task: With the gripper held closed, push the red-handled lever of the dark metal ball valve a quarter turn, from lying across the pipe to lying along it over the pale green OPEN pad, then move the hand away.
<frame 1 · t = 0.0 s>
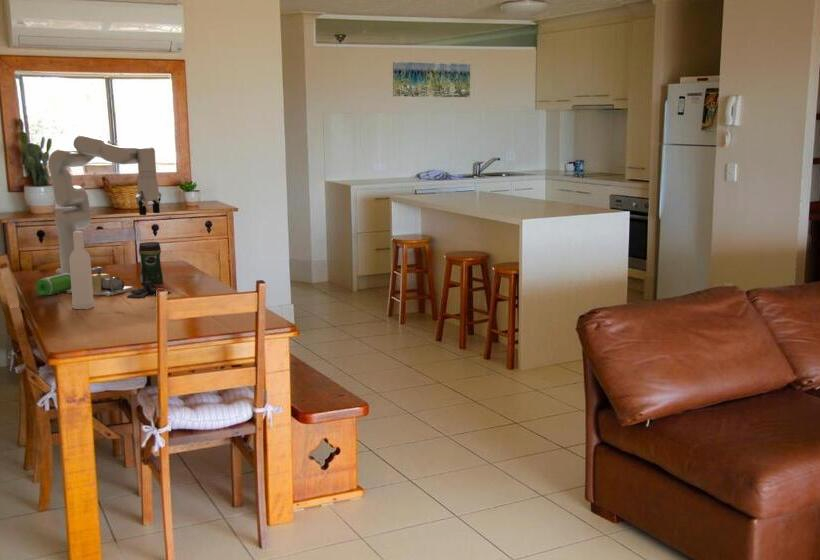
hand: (149, 214, 391), 31 cm above the table, tool pointing down, fingers open, 9 cm apart
lever: (90, 272, 371), point 9 cm above the table, hinge at 0.0°
speaker: (56, 293, 376), on the table
coffee jar: (151, 283, 397), on the table
bottle: (83, 308, 343), on the table
cloth: (152, 295, 371), on the table
valve pipe: (100, 291, 378), on the table
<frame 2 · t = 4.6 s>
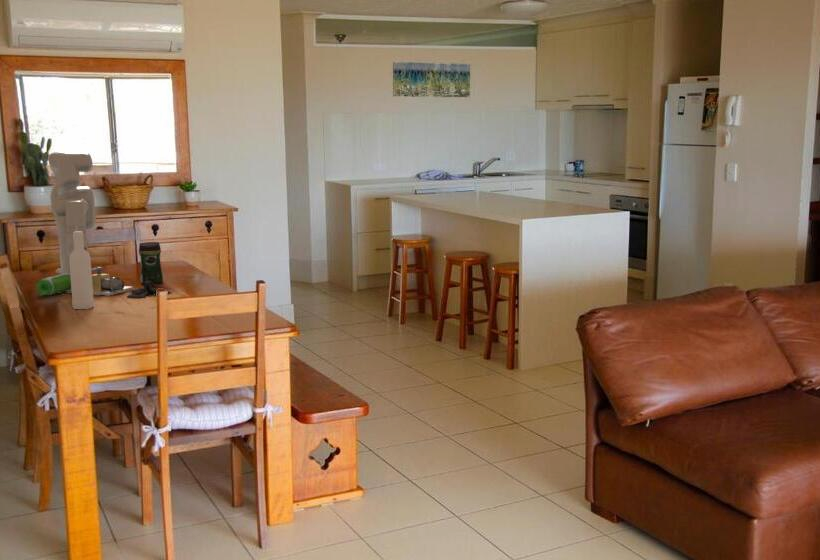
hand: (79, 273, 369), 9 cm above the table, tool pointing down, fingers closed
lever: (90, 272, 371), point 9 cm above the table, hinge at 3.3°, touching gripper
everything else where it was.
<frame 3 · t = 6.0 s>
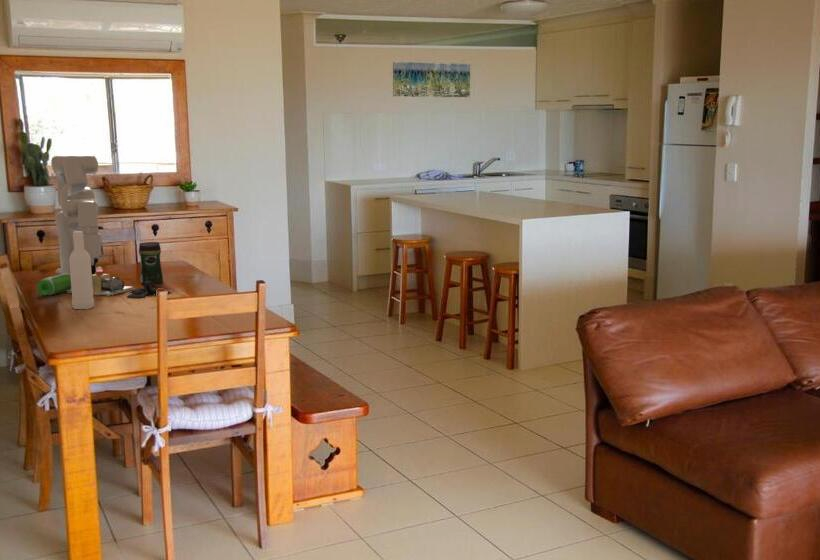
hand: (91, 274, 367), 9 cm above the table, tool pointing down, fingers closed
lever: (99, 272, 371), point 9 cm above the table, hinge at 40.4°, touching gripper
everything else where it was.
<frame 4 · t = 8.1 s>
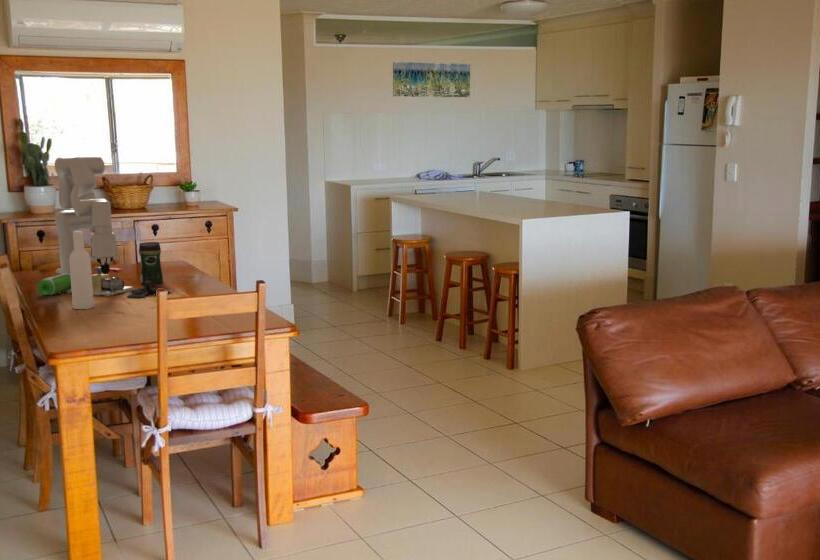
hand: (105, 273, 368), 9 cm above the table, tool pointing down, fingers closed
lever: (107, 271, 374), point 9 cm above the table, hinge at 81.1°
everything else where it was.
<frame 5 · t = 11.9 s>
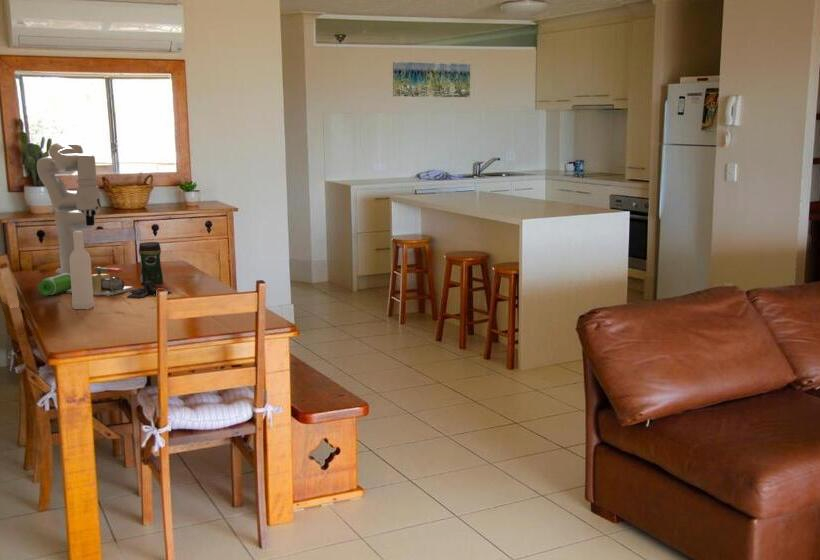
hand: (90, 225, 386), 27 cm above the table, tool pointing down, fingers closed
nothing on the table moved.
at the end: lever at +81° (first picture: +0°); lever touching nothing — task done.
